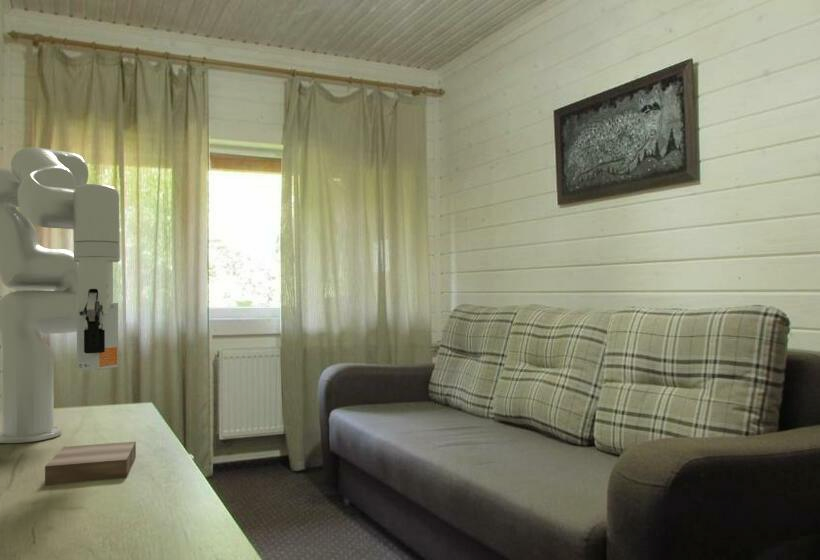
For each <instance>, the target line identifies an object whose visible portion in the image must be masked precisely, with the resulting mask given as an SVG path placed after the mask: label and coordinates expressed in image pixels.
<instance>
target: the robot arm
mask: <svg viewBox="0 0 820 560" xmlns="http://www.w3.org/2000/svg"><path fill="white" fill-rule="evenodd" d="M10 167H11V168H5V167H4V168H3V167H2V168H0V281H1V283H2V284H3V285H4V286H6V287H7V288H9V289H13V290H17V291H12V292H9V293H7V294H5V295H3V296H2V297H1V298H0V338H1V356H2V357H1V358H2V359H1V360H2V361H1V363H2V365H1V366H2V367H1V368H2V384H1V385H2V386H1V387H2V388H1V389H2V391H1V393H2V394H1V395H2V396H1V397H2V399H1V400H2V401H1V406H2V409H1V412H2V414H1V415H2V416H1V421H2V422H1V424H2V425H1V431H0V444H21V443H31V442H33V443H34V442H39V441H44V440H49V439H53V438H56V437H58V436H61V434H62V433H63V431H62V427H60V426H54V425H55V424H54V420H55V419H54V416H55V415H54V414H55V413H54V408H55V407H54V404H55V403H54V402H55V401H54V400H55V399H54V394H55V393H54V392H55V391H54V390H55V388H54V386H55V385H54V383H55V382H54V381H55V380H54V379H55V377H54V375H55V371H54V369H55V368H54V367H55V364H54V361H55V360H54V353H53V350H52V348H51V347H50V346H49V344H48V343H47V342H46V341H45V340H44V339H43V338H42V336H41V335H48V334H51V335H52V334H69V333H77V314H78V315H79V316H82V314H80V312H86V314H85V330H84V352H85V353H103V352H104V351H105V330H103V317H104V315H107V314H108V313H109V311H110V307H111V303H114V263H118V262H121V261H120V259H121V255H120V254H121V253H120V251H121V250H120V248H121V245H120V244H121V242H120V240H121V239H120V235H121V234H120V193H119V192H118V191H119V190H117V188H115V186H111V185H107V184H99V183H88V180H89V168H88V165H87V162H86V161H85V159H83V157H82V156H81V155H79V154H77V153H75V152H70V151H64V150H57V149H51V148H45V147H44V148H43V147H35V146H34V147H32V146H31V147H23V148H22V149H19V150H17V151H16V152H15V153H14V154H13V156H12V157H11V161H10ZM17 208H19V210H20V211H21V212H20V211H19V210H18V209H17ZM34 225H35V226H37V227H41V228H48V229H62V230H63V229H66V230H72V231H73V252H72V251H71V250H69V249H65V248H52V247H51V248H50V247H43V246H41V244H40V243H39V236H38V231H37V228H36V227H35V226H34ZM97 303H98V309H99V310H100V311H101V312H96V304H97ZM85 307H86V310H84V309H85Z"/></svg>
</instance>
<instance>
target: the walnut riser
mask: <svg viewBox="0 0 820 560" xmlns="http://www.w3.org/2000/svg"><path fill="white" fill-rule="evenodd" d="M136 442H137V441H136V440H134V441H123V442H122V441H121V442H110V443H108V442H107V443H96V444H84V445H73V446H72V445H70V446H69V445H68V446H63V447H62V448H61V449H60V450H59V451H58V452H57V453H56V454H55V455H54V456H53V457H52V459H51V460H50V461H48V463H47V464H46V465H45V466H44V486H51V485H52V486H53V485H64V484H72V483H73V484H74V483H85V482H95V481H96V482H97V481H106V480H117V479H127V478H128V476H129V473H130V472H131V469H132V466H133V464H134V463H135V461H136V456H137V454H136V452H137V451H136V448H137V447H136V445H137V444H136Z"/></svg>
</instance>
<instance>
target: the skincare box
mask: <svg viewBox="0 0 820 560" xmlns="http://www.w3.org/2000/svg"><path fill="white" fill-rule="evenodd" d="M84 310H86V307H85V309H84ZM96 312H101V311H100V310H99V309H98V303H97V304H96ZM80 314H82V316H79V315H78V314H77V332H76V370H77V371H99V370H106V369H114V368H115V369H117V368H118V367H119V303H118V302H113V303H111V307H110V311H109V313H108V314H107V315H104V317H103V330H105V351H104V352H103V353H85V352H84V330H85V314H86V312H80Z"/></svg>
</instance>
